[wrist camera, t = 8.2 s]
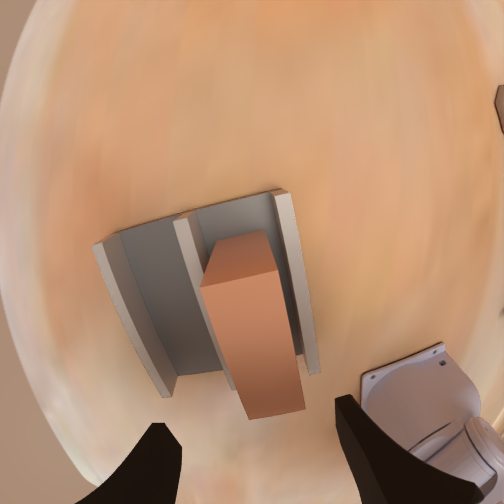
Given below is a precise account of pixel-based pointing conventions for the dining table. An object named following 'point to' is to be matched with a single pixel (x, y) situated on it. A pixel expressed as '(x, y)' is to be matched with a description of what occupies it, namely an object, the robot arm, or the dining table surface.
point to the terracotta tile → (253, 324)
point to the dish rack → (198, 283)
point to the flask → (500, 104)
